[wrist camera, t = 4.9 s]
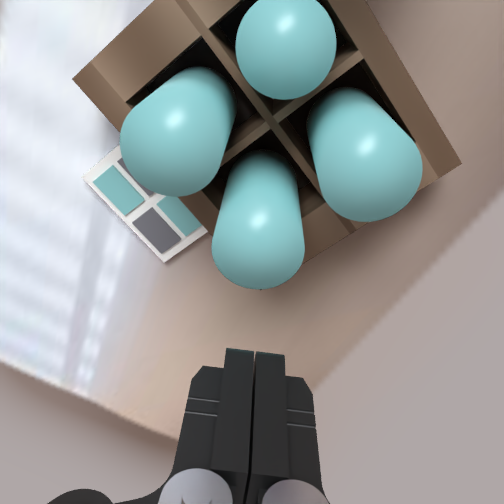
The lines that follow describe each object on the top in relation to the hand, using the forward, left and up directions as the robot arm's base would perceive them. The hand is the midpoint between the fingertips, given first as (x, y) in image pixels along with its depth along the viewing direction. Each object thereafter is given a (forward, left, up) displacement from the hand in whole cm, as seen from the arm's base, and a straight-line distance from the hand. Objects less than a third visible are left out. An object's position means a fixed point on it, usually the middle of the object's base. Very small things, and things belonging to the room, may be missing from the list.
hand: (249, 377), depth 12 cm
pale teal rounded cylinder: (0, -5, -14) cm, 15 cm away
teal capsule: (-5, -5, -17) cm, 18 cm away
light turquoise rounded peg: (0, 0, -14) cm, 14 cm away
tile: (+6, -3, -17) cm, 18 cm away
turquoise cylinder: (-5, 0, -14) cm, 15 cm away
